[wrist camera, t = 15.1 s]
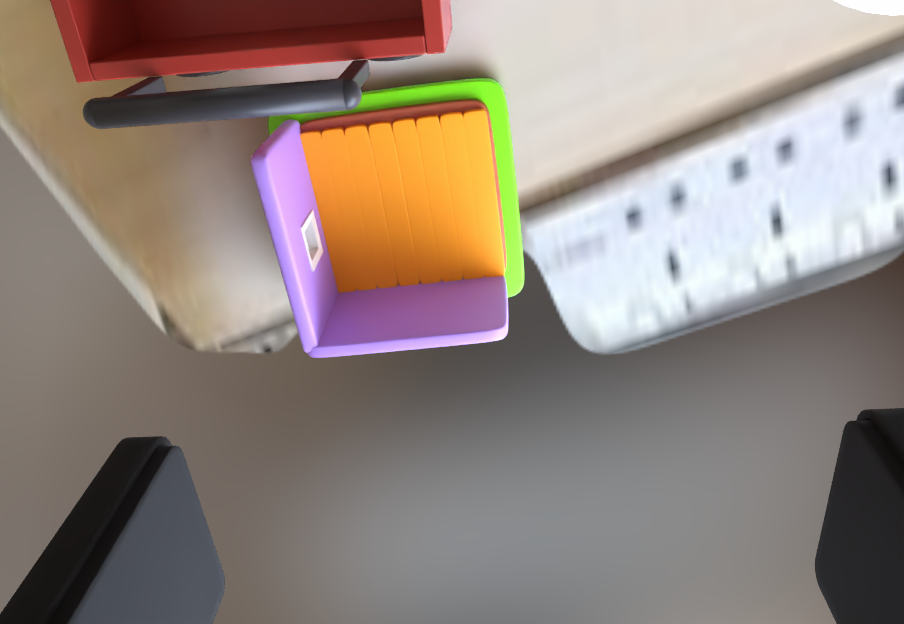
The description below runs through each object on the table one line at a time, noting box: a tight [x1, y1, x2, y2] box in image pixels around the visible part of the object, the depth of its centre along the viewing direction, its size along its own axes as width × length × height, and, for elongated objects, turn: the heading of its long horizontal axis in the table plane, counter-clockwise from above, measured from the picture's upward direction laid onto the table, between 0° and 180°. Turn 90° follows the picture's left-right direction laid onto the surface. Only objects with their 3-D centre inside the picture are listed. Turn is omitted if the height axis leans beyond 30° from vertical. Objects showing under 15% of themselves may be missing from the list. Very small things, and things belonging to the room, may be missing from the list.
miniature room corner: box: [251, 78, 524, 357], centre depth 35 cm, size 12×12×7 cm
